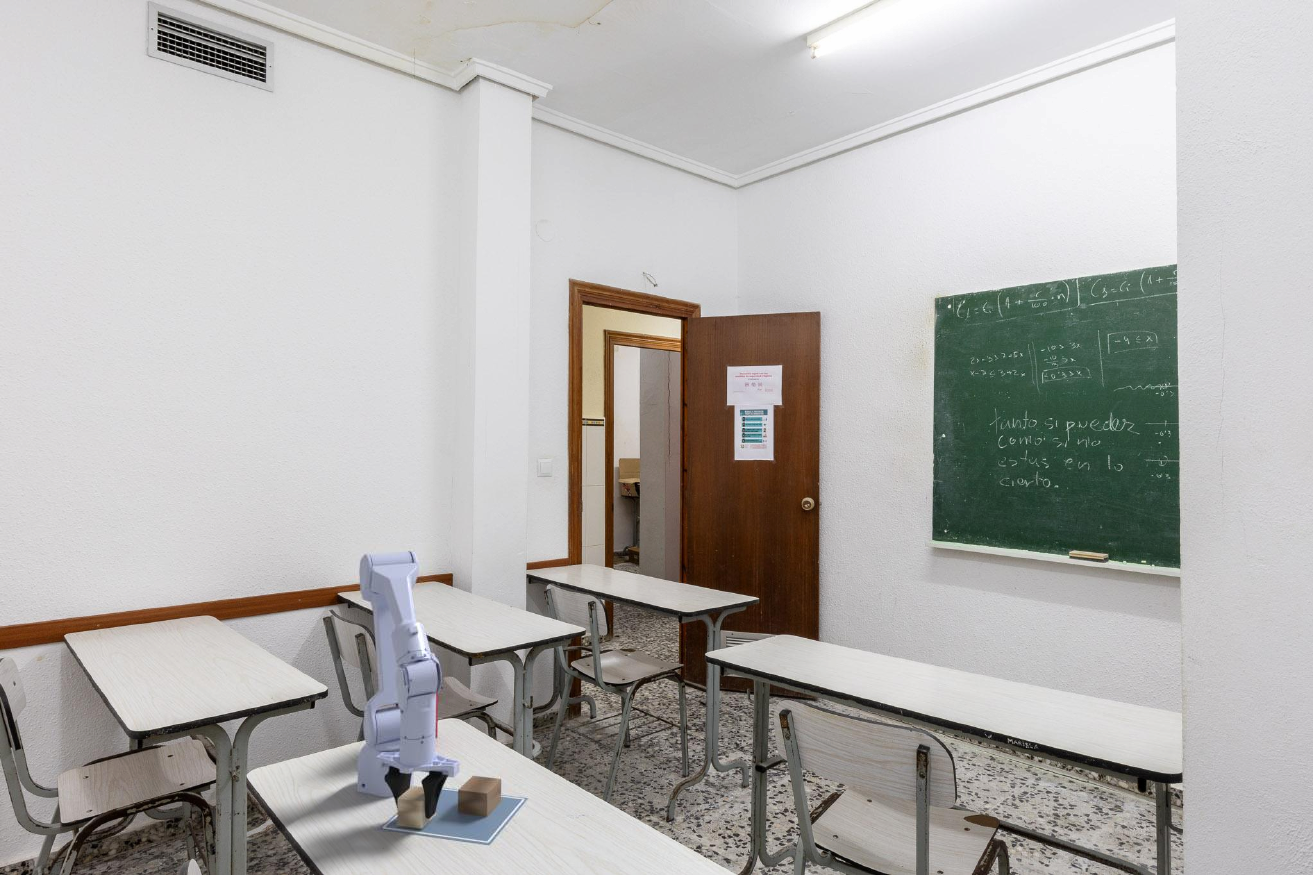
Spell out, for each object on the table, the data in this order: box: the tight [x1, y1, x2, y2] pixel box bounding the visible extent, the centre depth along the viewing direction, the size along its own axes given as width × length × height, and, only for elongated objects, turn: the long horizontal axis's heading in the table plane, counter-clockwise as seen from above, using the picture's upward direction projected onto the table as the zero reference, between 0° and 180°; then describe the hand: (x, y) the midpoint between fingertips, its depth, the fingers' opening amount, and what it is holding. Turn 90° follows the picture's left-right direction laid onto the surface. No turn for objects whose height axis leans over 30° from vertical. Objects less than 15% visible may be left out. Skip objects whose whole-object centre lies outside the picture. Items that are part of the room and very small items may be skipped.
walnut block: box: [457, 775, 502, 817], centre depth 125 cm, size 6×6×4 cm
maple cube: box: [396, 785, 436, 829], centre depth 120 cm, size 4×4×4 cm
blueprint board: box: [377, 787, 529, 846], centre depth 123 cm, size 20×16×1 cm
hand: (416, 813), depth 120 cm, fingers closed on maple cube, 4 cm apart
